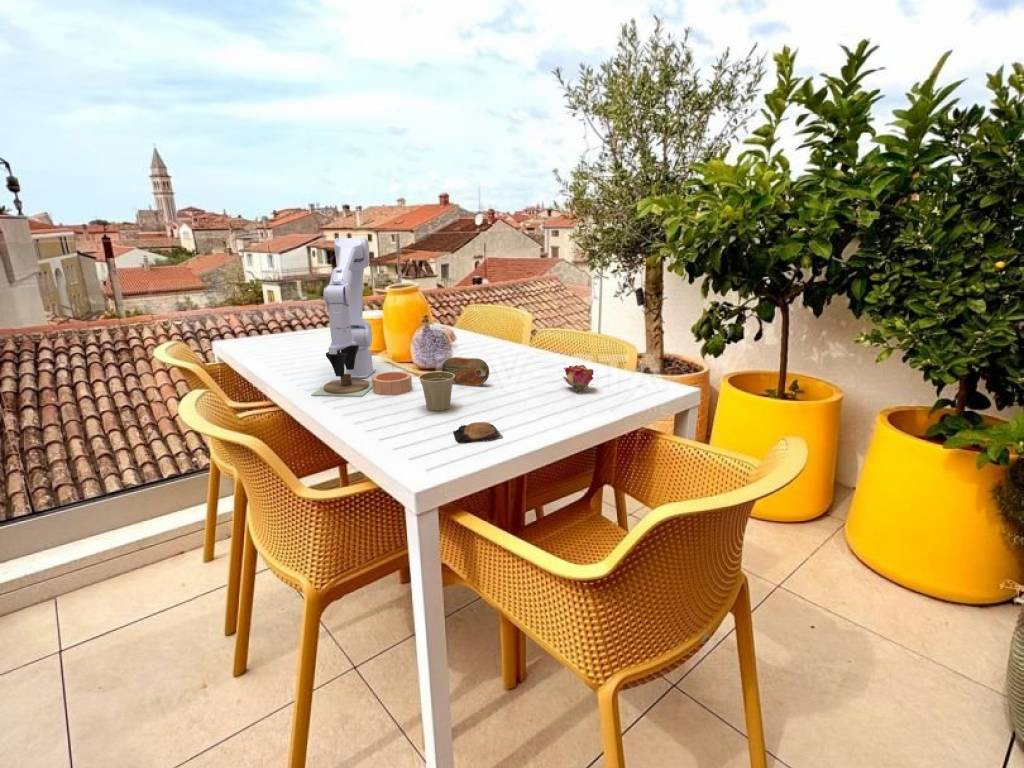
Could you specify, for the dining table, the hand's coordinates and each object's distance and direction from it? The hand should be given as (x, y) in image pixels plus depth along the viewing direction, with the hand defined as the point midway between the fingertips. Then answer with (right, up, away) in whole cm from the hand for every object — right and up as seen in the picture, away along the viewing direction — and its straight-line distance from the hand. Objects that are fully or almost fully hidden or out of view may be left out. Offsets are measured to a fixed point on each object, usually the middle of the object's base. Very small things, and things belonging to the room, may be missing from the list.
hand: (345, 372), depth 147 cm
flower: (+69, -5, 0) cm, 69 cm away
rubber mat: (0, -5, +2) cm, 5 cm away
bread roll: (+42, -16, -33) cm, 56 cm away
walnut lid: (0, -4, +1) cm, 5 cm away
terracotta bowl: (+14, -5, +1) cm, 15 cm away
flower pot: (+30, -10, -15) cm, 35 cm away
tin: (+35, -4, +6) cm, 36 cm away
